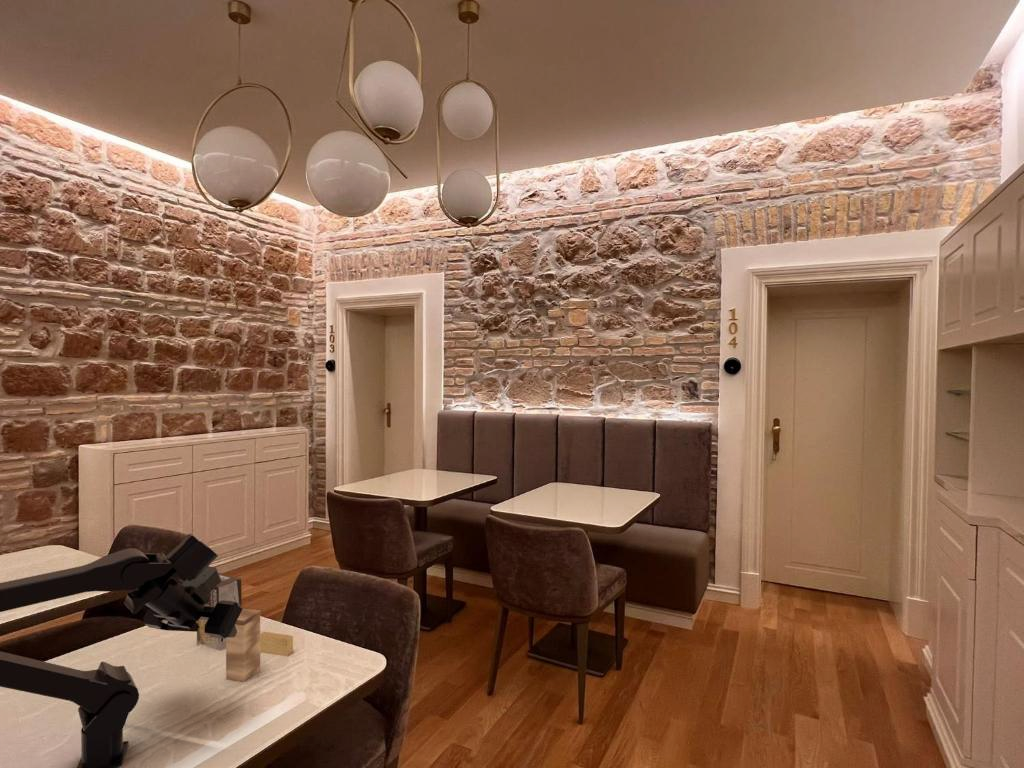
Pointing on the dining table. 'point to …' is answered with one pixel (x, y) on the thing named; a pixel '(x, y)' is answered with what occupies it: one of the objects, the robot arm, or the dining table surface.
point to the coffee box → (223, 591)
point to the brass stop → (276, 643)
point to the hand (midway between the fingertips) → (216, 631)
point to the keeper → (244, 647)
